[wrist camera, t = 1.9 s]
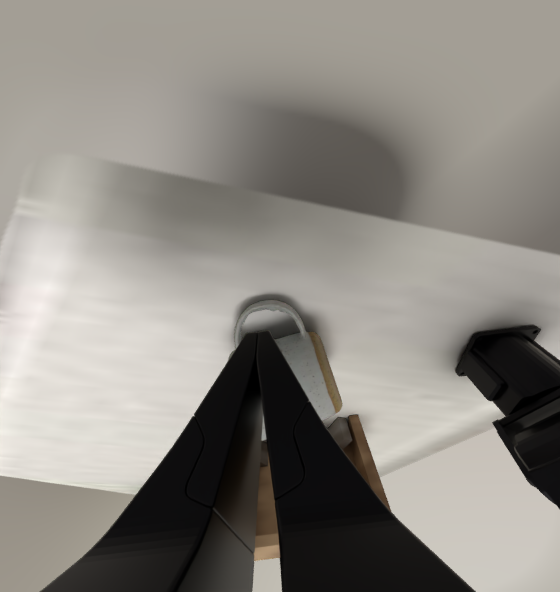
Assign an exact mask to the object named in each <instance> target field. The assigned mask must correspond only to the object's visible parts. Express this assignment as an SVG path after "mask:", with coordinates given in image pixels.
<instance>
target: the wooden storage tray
mask: <svg viewBox="0 0 560 592" xmlns="http://www.w3.org/2000/svg"><path fill="white" fill-rule="evenodd" d="M328 431H329V432H330V434H331V435H332V436H333V438H334V439H335V441H336V442H337V443H338V445H339V446H340V447H341V449H342V450H343V451H344V453H345V454H346V455H347V457H348V458H349V459H350V461H351V462H352V463H353V465H354V466H355V467H356V468H357V470H358V471H359V472H360V474H361V475H362V476H363V478H364V479H365V480H366V482H367V483H368V484H369V486H370V487H371V488H372V490H373V491H374V492H375V493H376V495H377V496H378V497H379V498H380V499H381V501H382V502H383V503H384V504H385V505H386V507H387V508H388V509H389V510H390V506H389V504H388V501H387V498H386V495H385V493H384V489H383V486H382V483H381V480H380V477H379V475H378V472H377V469H376V466H375V463H374V460H373V457H372V454H371V451H370V449H369V446H368V443H367V440H366V437H365V434H364V431H363V428H362V425H361V423H360V420H359V417H358V415H351V416H349V419H348V424H347V421H346V418H339V417H338V418H337V419H336V420H335V421H334V422H333V424H332V425H331V426H330V427H329V428H328ZM390 511H391V510H390ZM273 558H280V551H279V538H278V527H277V518H276V510H275V500H274V494H273V486H272V479H271V471H270V463H269V456H268V448H267V443H265V442H264V441H261V456H260V473H259V489H258V505H257V521H256V537H255V552H254V561H256V560H265V559H273Z"/></svg>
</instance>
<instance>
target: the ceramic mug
mask: <svg viewBox="0 0 560 592" xmlns="http://www.w3.org/2000/svg"><path fill="white" fill-rule="evenodd" d="M264 309H268V310H271V311H275V310H280V311H282V312H286V313H287V314H288V315H290V316H291V317H292V318H293V319H294V320H295V322H296V324H297V326H298V328H299V330H300V333H296V334H293V335H289V336H285V337H282V338H279V339H275V341H276V343H277V345H278V346H279V348H280V350H281V352H282V353H283V355H284V357H285V358H286V360H287V362H288V364H289V365H290V367H291V369H292V371H293V372H294V374H295V376H296V378H297V379H298V381H299V383H300V384H301V386H302V388H303V390H304V391H305V393H306V395H307V397H308V398H309V401H310V402H311V403H312V405H313V407H314V408H315V410H316V412H317V414H318V415H319V417H320V418H321V420H322V421H323V420H325V419H327V418H329V417H331V416H332V415H334V414H336V413H337V412H339V411H340V409H341V407H342V400H341V397H340V394H339V391H338V388H337V385H336V382H335V379H334V376H333V373H332V370H331V367H330V364H329V361H328V358H327V355H326V352H325V349H324V346H323V344H322V341H321V339H320V337H319V335H318V334H316V333H314V332H306V331H305V328H304V324H303V322H302V320H301V318H300V317H299V315H298V314H297V312H296V311H295V310H294V309H293V308H292V307H291V306H289V305H288V304H286V303H284V302H281V301H277V300H264V301H259V302H257V303H254V304H252V305H250V306H249V307H248V308H247V309H246V310H245V311H244V312H243V313H242V314H241V316H240V317H239V319H238V321H237V324H236V327H235V333H234V342H235V349H236V348H237V347H238V345H239V343H240V342H241V340H242V337H241V329H242V324H243V322H244V321H245V319H246V317H247V316H248V315H249V314H250V313H252V312H255V311H259V310H264ZM234 351H235V350H234ZM234 351H233V352H232V353H231V354H230V356H229V359H230V357H231V356H232V354H233V353H234ZM229 359H228V361H229ZM263 440H266V433H265V425H264V417H263V424H262V440H261V441H263Z"/></svg>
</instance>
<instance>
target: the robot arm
mask: <svg viewBox="0 0 560 592" xmlns="http://www.w3.org/2000/svg"><path fill="white" fill-rule="evenodd" d="M540 331H541V329H540V328H538V327H537V326H528V327H520V328H512V329H505V330H497V331H489V332H482V333H477V334H475V335H474V336H473V337H472V339H471V341H470V343H469V345H468V347H467V349H466V351H465V353H464V355H463V357H462V359H461V362H460V364H459V366H458V368H457V370H456V373H457V375H458V376H467V377H468V378H469V379H470V380H471V381H472V383H473V384H474V385H475V386H476V387H477V388H478V390H479V391H480V392H481V393H482V394H483V395H484V397H485V398H486V399H487V400H489V401H493V402H494V403H495V405H496V406H497V407H498V408H499V409H500V410H501V411H502V413H503V414H504V415H505V416H506V417H504V418H502V419H500V420H496V421H494V422H492V423H493V425H494V426H495V428H496V430H497V433H498V434H499V436H500V438H501V439H502V441H503V442H504V444H505V446H506V447H507V449H508V450H509V452H510V453H511V455H512V457H513V458H514V460H515V461H516V463H517V465H518V466H519V468H520V469H521V471H522V473H523V474H524V476H525V477H526V480H527V481H528V482H529V483H530V484H531V485H532V486H534V487H536V488H537V489H539V491H540V492H541V493H542V494H543V495H544V496H545V497H547V498H548V499H549V500H550V501H552V502H553V503H554V504H556V505H557V506H558V508H559V509H560V360H558V359H557V358H556V357H555V356H553V355H552V354H551V353H549V352H548V351H547V350H545V349H544V348H543V347H541V346H540V345H539V344H537V343H536V342H535V341H534V339H535V338H536V337H537V335H538V334H539V332H540ZM263 417H264V425H265V433H266V440H267V448H268V456H269V463H270V471H271V479H272V486H273V494H274V500H275V510H276V518H277V527H278V538H279V551H280V565H281V581H282V592H476V591H474V590H473V589H472V588H471V587H470V586H469V585H468V584H467V583H466V582H465V581H464V580H463V579H462V578H460V577H459V576H458V575H457V574H456V573H455V572H454V571H453V570H452V569H451V568H450V567H449V566H448V565H446V564H445V563H444V562H443V561H442V560H441V559H440V558H439V557H438V556H437V555H436V554H435V553H434V552H432V551H431V550H430V549H429V548H428V547H427V546H426V545H425V544H424V543H423V542H422V541H421V540H420V539H419V538H417V537H416V536H415V535H414V534H413V533H412V532H411V531H410V530H409V529H408V528H407V527H406V526H405V525H403V524H402V523H401V522H400V521H399V520H398V519H397V518H396V517H395V515H394V514H393V513H392V512H391V511H390V510H389V509H388V508H387V507H386V505H385V504H384V503H383V502H382V501H381V499H380V498H379V497H378V496H377V495H376V493H375V492H374V491H373V490H372V488H371V487H370V486H369V484H368V483H367V482H366V480H365V479H364V478H363V476H362V475H361V474H360V472H359V471H358V470H357V468H356V467H355V466H354V465H353V463H352V462H351V461H350V459H349V458H348V457H347V455H346V454H345V453H344V451H343V450H342V449H341V447H340V446H339V445H338V443H337V442H336V441H335V439H334V438H333V436H332V435H331V434H330V432H329V431H328V429H327V428H326V426H325V425H324V423H323V422H322V420H321V418H320V417H319V415H318V414H317V412H316V410H315V408H314V407H313V405H312V403H311V402H310V401H309V398H308V397H307V395H306V393H305V391H304V390H303V388H302V386H301V384H300V383H299V381H298V379H297V378H296V376H295V374H294V372H293V371H292V369H291V367H290V365H289V364H288V362H287V360H286V358H285V357H284V355H283V353H282V352H281V350H280V348H279V346H278V345H277V343H276V341H275V339H274V338H273V336H272V334H271V332H270V331H269V330H264V331H259V332H249V333H246V334H245V336H244V337H243V339H242V340H241V342H240V343H239V345H238V347H237V348H236V350H235V351H234V353H233V354H232V356H231V357H230V359H229V361H228V362H227V364H226V365H225V367H224V368H223V370H222V371H221V373H220V375H219V376H218V378H217V379H216V381H215V382H214V384H213V385H212V387H211V389H210V390H209V392H208V393H207V395H206V396H205V398H204V400H203V401H202V403H201V404H200V406H199V407H198V409H197V410H196V412H195V414H194V416H193V417H192V418H191V420H190V421H189V423H188V424H187V426H186V427H185V429H184V430H183V432H182V433H181V435H180V436H179V438H178V439H177V441H176V442H175V444H174V445H173V447H172V448H171V449H170V451H169V452H168V453H167V455H166V456H165V457H164V459H163V460H162V461H161V463H160V464H159V466H158V467H157V468H156V469H155V471H154V472H153V473H152V475H151V476H150V477H149V479H148V480H147V481H146V482H145V484H144V485H143V486H142V488H141V489H140V490H139V492H138V493H137V494H136V495H135V497H134V498H133V500H132V501H131V502H130V503H129V505H128V506H127V507H126V508H125V510H124V511H123V512H122V514H121V515H120V516H119V518H118V519H117V520H116V521H115V523H114V524H113V525H112V526H111V527H110V529H109V530H108V531H107V532H106V533H105V534H104V536H103V537H102V538H101V539H100V540H99V541H98V542H97V543H96V544H95V545H94V546H93V547H92V548H91V549H90V550H89V551H88V552H87V553H86V554H85V555H84V556H83V557H82V558H80V559H79V560H78V561H77V562H76V563H75V564H74V565H72V566H71V567H70V568H68V569H67V570H66V571H65V572H63V573H62V574H61V575H60V576H59V577H57V578H56V579H55V580H54V581H52V582H51V583H50V584H49V585H47V586H46V587H45V588H44V589H43V590H41V591H40V592H252V587H253V571H254V570H253V569H254V552H255V537H256V521H257V505H258V489H259V473H260V456H261V440H262V424H263Z"/></svg>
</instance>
